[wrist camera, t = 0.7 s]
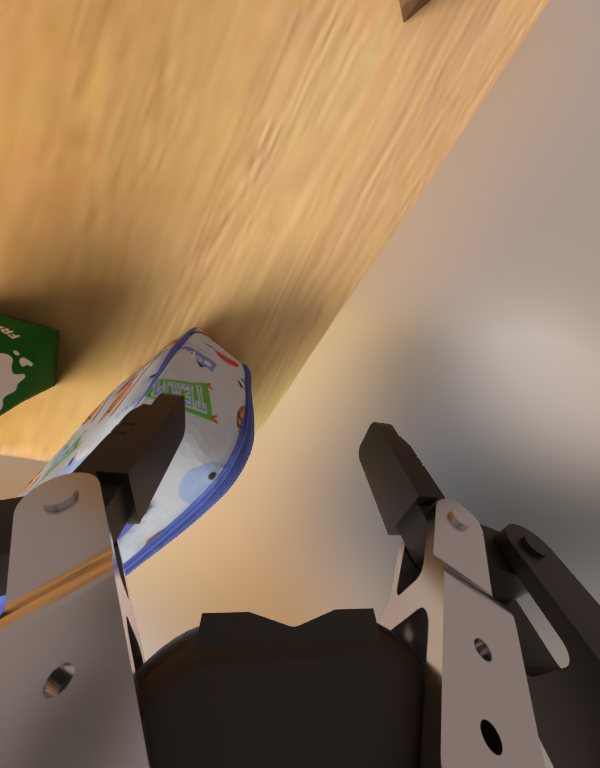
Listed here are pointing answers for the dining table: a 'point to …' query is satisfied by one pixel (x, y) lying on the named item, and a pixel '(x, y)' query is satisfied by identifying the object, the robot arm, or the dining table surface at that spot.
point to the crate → (411, 7)
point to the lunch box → (198, 447)
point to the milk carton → (25, 360)
